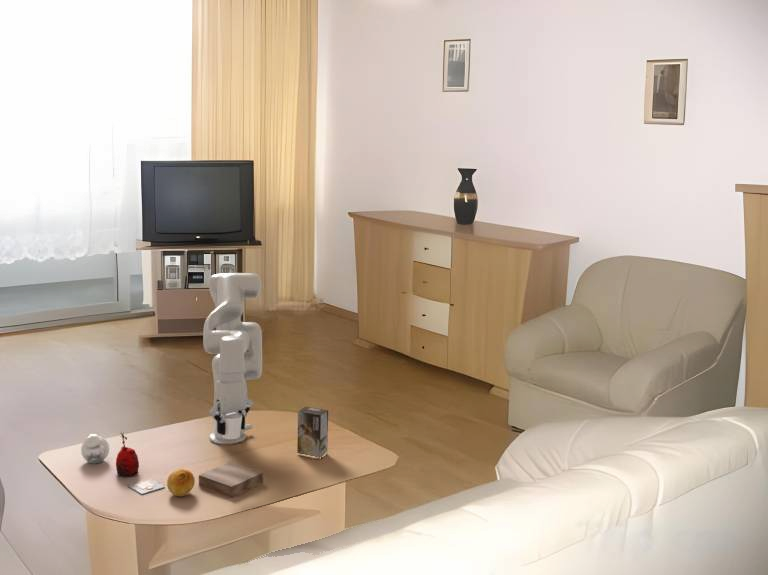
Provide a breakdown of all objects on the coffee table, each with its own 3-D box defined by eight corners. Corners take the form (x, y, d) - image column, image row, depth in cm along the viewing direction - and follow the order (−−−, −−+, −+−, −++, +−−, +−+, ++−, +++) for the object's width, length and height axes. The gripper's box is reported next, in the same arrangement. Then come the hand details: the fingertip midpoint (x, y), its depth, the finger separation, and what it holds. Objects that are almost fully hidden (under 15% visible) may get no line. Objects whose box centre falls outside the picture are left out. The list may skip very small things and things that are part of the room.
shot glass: (215, 436, 274) (215, 415, 273) (229, 430, 280) (229, 409, 279) (233, 441, 271) (233, 419, 269) (246, 435, 277) (246, 413, 275)
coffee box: (328, 454, 306) (329, 410, 303) (320, 460, 301) (321, 415, 298) (304, 449, 310) (305, 405, 307) (296, 455, 304) (297, 411, 301)
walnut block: (230, 473, 288) (230, 461, 287) (262, 484, 280) (262, 472, 279) (198, 487, 276) (198, 475, 276) (231, 499, 269) (231, 486, 268)
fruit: (192, 500, 266) (192, 475, 264) (165, 500, 265) (165, 475, 263) (196, 489, 274) (196, 464, 272) (169, 488, 273) (169, 464, 271)
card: (150, 480, 279) (150, 478, 279) (164, 487, 273) (164, 486, 273) (127, 486, 273) (127, 485, 273) (141, 495, 268) (141, 493, 268)
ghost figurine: (74, 464, 288) (73, 435, 287) (95, 455, 297) (94, 426, 295) (95, 470, 285) (94, 440, 283) (115, 460, 293) (115, 431, 291)
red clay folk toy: (143, 473, 284) (143, 428, 281) (127, 480, 278) (126, 435, 275) (127, 467, 288) (126, 423, 285) (110, 474, 282) (109, 429, 279)
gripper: (246, 368, 280) (246, 422, 284) (200, 378, 268) (200, 434, 271) (261, 373, 275) (260, 428, 279) (215, 383, 263) (215, 440, 266)
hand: (231, 430), depth 275 cm, fingers closed on shot glass, 6 cm apart
